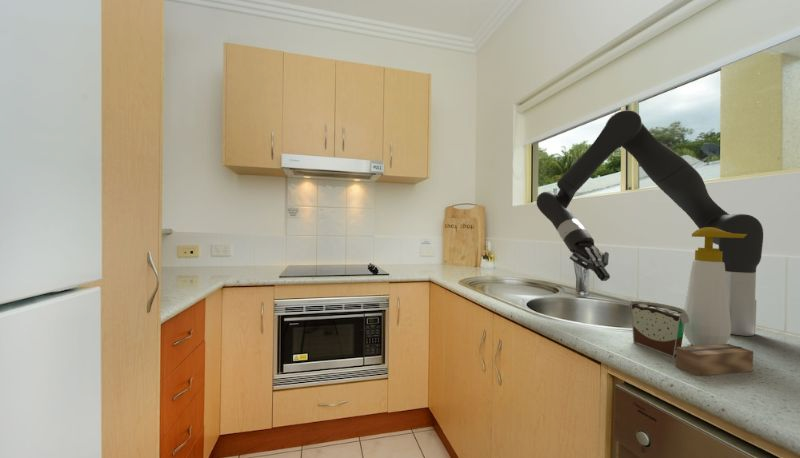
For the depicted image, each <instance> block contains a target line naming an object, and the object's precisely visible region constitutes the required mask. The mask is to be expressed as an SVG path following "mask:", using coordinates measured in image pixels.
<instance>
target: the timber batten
mask: <svg viewBox="0 0 800 458" xmlns="http://www.w3.org/2000/svg"><path fill="white" fill-rule="evenodd" d="M753 366H754V351H753V350H750V349H747V348H744V347H742V346H737V345H734V344H730V343H726V344H718V345H702V346H693V345H691V346H688V345H687V346H681V347H676V357H675V368H678V369H681V370H683V371H685V372H687V373H691V374H693V375H695V376H697V377H699V376H700V377H701V376H712V375H721V374H722V375H723V374H735V373H744V372H746V373H747V372H753V371H754V368H753Z"/></svg>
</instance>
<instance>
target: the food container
mask: <svg viewBox="0 0 800 458" xmlns="http://www.w3.org/2000/svg"><path fill="white" fill-rule="evenodd" d="M628 309H629V310H630V311H631V325H632V326H631V327H632V339H633V340H632V341H633V343H635V344H638V345H639V346H643V347H645V348H647V347H648V349H651V350H653V351H655V352H658V353H661V354H663V355H666V356H669V357H672V358H675V359H676V347H682V345H683V338H684V326H685V323H688V322H689V318H688V314H687V313H686V311H685V310H684V308H680V307H676V306H673V305H669V304H663V303H657V302H652V301H651V302H650V301H639V300H638V301H637V300H630V303H629V307H628Z"/></svg>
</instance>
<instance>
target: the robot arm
mask: <svg viewBox="0 0 800 458" xmlns="http://www.w3.org/2000/svg"><path fill="white" fill-rule="evenodd" d="M620 147H622V149H624V150H625V151H627V152H628V153H629V154H630V155H631V156H632V157H633V158H634V159H635V161H636V163H638V164H639V166H640V167H641V169H642V170H643V171H644V172H645V174H646V175H647V176H648V177H649V178H650V180H651V181H652V182H653V183H654V184H655V185H656V186H657V187H658V188H659V189H660V190H661V191H662V192H663V193H664V194H665V195H666V196H668V197H669V198H670V199H671V200H672V201H673V202H674V203H675V205H677V206H678V207H679V208H680V209H681V210H682V211H684V212H685V213H686V215H688V217H689V219H691V221H692V222H694V224H695V226H697V228H698V229H701V228H704V227H713V228H717V229H720V230H723V231H725V232H729V233H733V234H747V235H746V236H745V237H744V238H723V237H713V245H714V244H715V245H717V246H718V248H717V249H719V251H722V262H724V264H725V273H726V283H727V292H728V302H729V311H730V321H731V334H730V335H735V336H746V337H751V336H752V337H753V336H754V335H755V334H756V328H757V327H756V326H757V323H756V322H757V299H756V283H757V282H756V281H757V279H756V278H757V267H758V266H759V264H760V262H761V260H762V254H763V253H762V252H763V245H764V229H763V225H762V223H761V222H760V221H759V219H757V218H756V216H755V217H754V216H753V215H750V214H745V213H733V214H730V213H728V212H727V211H725V210H724V209H723V208H722V207H721V206H719V205H718V204H717V203H716V202H715V201H714V200H713V199H712V196H710V194H709V192H708V189H707V186H706V184H705V182H704V179H703V178H702V176H701V174H700V173H699V172H698V171H697V169H695V168H694V167H693V166H692V165H691V164H690V163H689V161H687V160H685V158H683V156H681V155H680V154H678V153H677V152H676V151H674V150H673V149H671V148H670V147H668V146H667V145H665V144H664V143H662V142H661V141H659V140H658V139H657V138H656V137H655V136H654V135H653V134H652V133H651V132H650V130H649V129H648V128H647V126H645V125H644V123H643V121H642V118H641V116H640V114H638V113H637V112H636V111H634V110H632V109H631V110H630V109H625V110H620V111H617V112H615V113H614V114H612V115H611V116H610V117H609V118H608V120H607V121H606V123H605V126H604V127H603V128H602V130H601V132H600V133H599V134H598V136H596V139H595V140H594V141H593V143H592V144H591V145H590V146H589V147H588V148H587V150H586V151H585V152H584V153H582V154H581V156H580V157H578V159H577V160H576V161H575V162H573V164H572V165H571V166H570V167H569V168H568V169H567V170H566V171H565V172H564V174H563V175H562V176H561V177H560V178H559V179H558V181H557V182H556V186H557V188H558V189H559V190H558V193H554V192H552V191H542V192H541V193H540V194H538V196H537V198H536V207H537V208H538V210H539V212H540V213H541V214H542V215H544V216H545V217H546V218H547V219H548V220H549V221H550V222H551V223H552V225H553V226H554V228H555V229H556V231H557V232H558V235H559V237H560V238H561V239H562V241H563V243H564V244H565V246H566V247H567V249H568V250H569V252H570V253H572V254H571V255H570V257H569V259H570V261H573V262H574V263H576V264H577V265H579V266H580V267H582V268H583V269H585V270H591V271H592V272H593V273H594V274H595V275H596V277H597V278H598V279H599V280H600V281H601V282H607V281H608V280H610V277H611V276H610V273H609V272H608V271H607V269H606V267H607V266H608V265H609V260H610V259H609V257H610V256H609V255H610V253H609V252H607V251H605V252H602V251H600V249H599V248H598V247H597V246H596V245H595V240H594V238H593V237H592V236H591V234H590V233H589V231H588V230H587V229H586V227H584V225H583V224H582V223H581V222H580V221H579V220H578V219H577V217H576V216H575V215H574V213H572V211H570V210H569V209H567V208H568V207H569V205H570V204H571V202H572V200H573V198H574V196H575V194H576V193H577V192H578V190H580V189H581V188H582V187H583V185H585V184H586V182H587V181H588V180H589V179H590V178H591V177H592V176H593V174H594V173H595V172H596V171H597V170H598V169H599V168H600V166H601V165H603V163H604V162H605V161H607V160H606V159H608V158H609V157H610V156H611V155H612V154H613V153H614V152H616V151H617V149H619V148H620Z"/></svg>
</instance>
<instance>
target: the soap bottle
mask: <svg viewBox="0 0 800 458" xmlns="http://www.w3.org/2000/svg"><path fill="white" fill-rule="evenodd" d="M746 235H747V234H733V233H729V232H725V231H723V230H720V229H717V228H713V227H704V228H701V229H699V228H698V229H696V230H695V231H693V233H691V237H695V238H696V237H697V238H698V237H699V238H704V246H703V247H698V248H697V249H695V251H694V259H692V264H691V269H690V274H689V278H688V279H689V280H688V286H687V291H686V296H685V302H684V307H683V310H685V311H686V313H687V314H688V318H689V322H688V323H685V326H684V333H683V335H684V337H685V338H686V340H687V341H688V343H689V344H690V345H691V346H702V345H718V344H728V341H729V338H730V337H731V335H732V334H731V321H730V311H729V302H728V292H727V283H726V273H725V264H724V262H722V251H719V249H718V248H716V247H715V248H714V243H713V237H723V238H744V237H745V236H746Z"/></svg>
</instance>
